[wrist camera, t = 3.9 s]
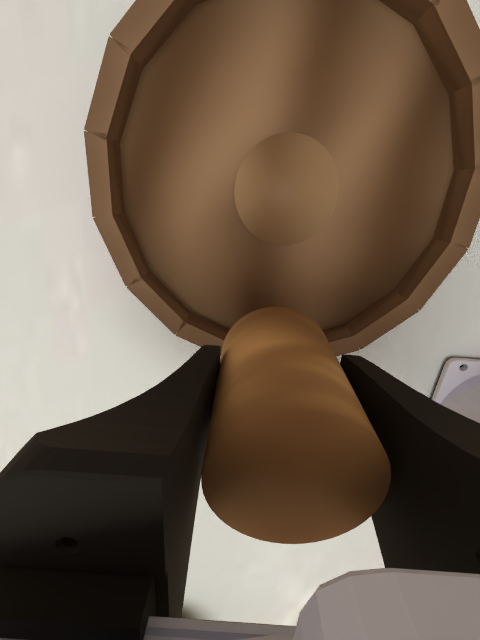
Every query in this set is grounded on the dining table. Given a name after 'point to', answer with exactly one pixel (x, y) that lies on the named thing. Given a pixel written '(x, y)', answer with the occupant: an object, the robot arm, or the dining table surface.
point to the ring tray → (287, 159)
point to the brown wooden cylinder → (289, 435)
